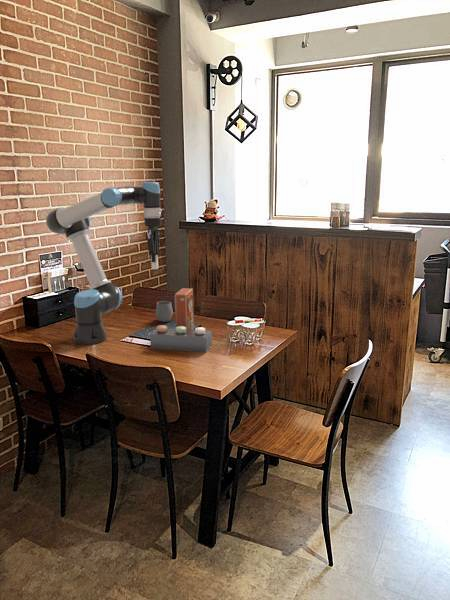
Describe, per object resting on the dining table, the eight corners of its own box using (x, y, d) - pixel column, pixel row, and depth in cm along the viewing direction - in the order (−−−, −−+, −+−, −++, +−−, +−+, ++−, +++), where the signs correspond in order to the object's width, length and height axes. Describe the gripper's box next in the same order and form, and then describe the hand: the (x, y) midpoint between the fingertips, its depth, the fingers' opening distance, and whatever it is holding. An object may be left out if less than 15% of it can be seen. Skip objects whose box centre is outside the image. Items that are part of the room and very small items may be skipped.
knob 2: (194, 347, 225) (193, 330, 223) (196, 344, 230) (196, 327, 227) (204, 348, 224) (203, 330, 222) (206, 344, 229) (206, 327, 227)
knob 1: (156, 345, 229) (155, 327, 227) (159, 341, 233) (158, 324, 231) (165, 345, 228) (165, 328, 226) (168, 342, 232) (168, 325, 230)
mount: (150, 348, 227) (150, 334, 225) (158, 341, 236) (157, 327, 234) (206, 352, 222) (206, 337, 220) (211, 344, 231) (211, 330, 229)
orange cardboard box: (195, 328, 255) (187, 338, 241) (182, 328, 256) (173, 337, 242) (194, 288, 250) (186, 295, 236) (181, 287, 251) (172, 294, 237)
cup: (164, 317, 276) (163, 299, 274) (176, 319, 271) (176, 302, 269) (152, 321, 269) (151, 303, 267) (165, 324, 264) (164, 305, 261)
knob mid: (175, 346, 227) (174, 328, 225) (178, 342, 231) (177, 325, 229) (184, 346, 226) (184, 329, 224) (187, 343, 230) (187, 326, 228)
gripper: (155, 218, 218) (158, 271, 224) (165, 216, 230) (167, 266, 236) (139, 218, 219) (142, 271, 225) (149, 215, 232) (152, 266, 238)
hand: (154, 268), depth 231 cm, fingers closed
